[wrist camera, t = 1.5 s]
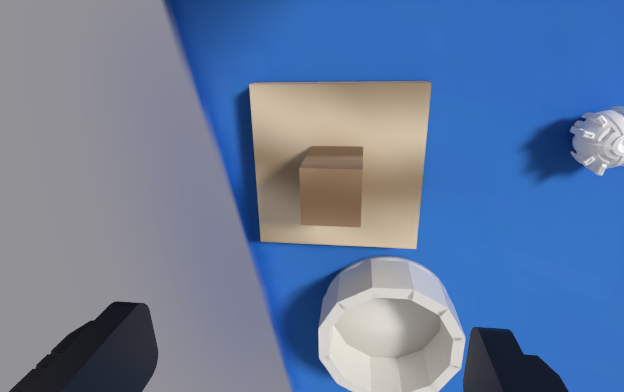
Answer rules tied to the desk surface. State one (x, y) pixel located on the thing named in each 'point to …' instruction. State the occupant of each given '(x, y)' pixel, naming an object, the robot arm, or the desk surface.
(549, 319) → the desk surface
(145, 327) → the robot arm
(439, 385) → the bowl
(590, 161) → the game pieces
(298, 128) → the lid
